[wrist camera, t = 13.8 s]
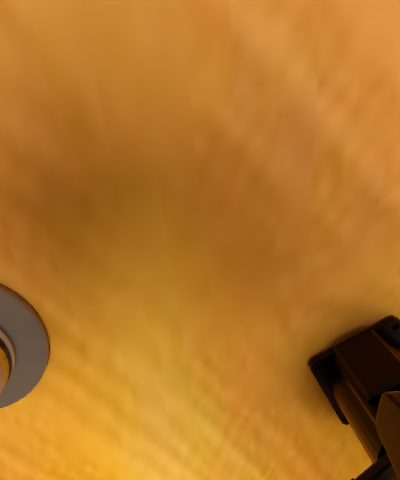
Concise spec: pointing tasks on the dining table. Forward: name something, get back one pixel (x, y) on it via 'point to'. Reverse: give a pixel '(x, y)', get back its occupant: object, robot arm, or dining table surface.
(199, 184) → the dining table surface
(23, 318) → the slate coaster
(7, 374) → the supplement bottle
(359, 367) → the robot arm
